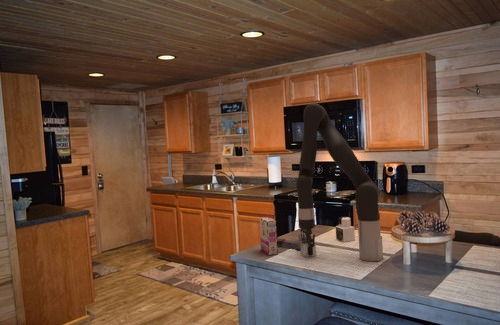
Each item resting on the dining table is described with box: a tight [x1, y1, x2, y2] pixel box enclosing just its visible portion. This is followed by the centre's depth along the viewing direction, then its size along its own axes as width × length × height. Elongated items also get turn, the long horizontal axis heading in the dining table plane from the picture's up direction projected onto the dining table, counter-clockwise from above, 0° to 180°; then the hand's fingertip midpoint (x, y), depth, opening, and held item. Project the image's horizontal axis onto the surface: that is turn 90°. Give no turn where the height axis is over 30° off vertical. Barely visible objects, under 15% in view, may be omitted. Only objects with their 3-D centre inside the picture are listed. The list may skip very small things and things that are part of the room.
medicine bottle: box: [335, 216, 356, 243], centre depth 199 cm, size 7×7×12 cm
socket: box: [300, 241, 317, 258], centre depth 177 cm, size 6×6×6 cm
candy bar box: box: [259, 216, 279, 256], centre depth 185 cm, size 11×5×16 cm, turn 18°
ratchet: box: [277, 232, 301, 252], centre depth 192 cm, size 22×8×8 cm, turn 55°
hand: (308, 253), depth 177 cm, fingers closed on socket, 5 cm apart
